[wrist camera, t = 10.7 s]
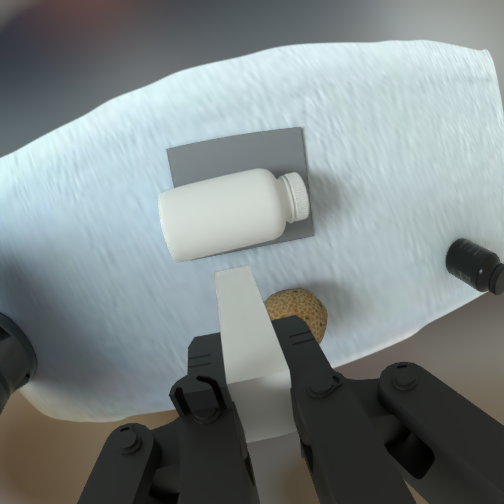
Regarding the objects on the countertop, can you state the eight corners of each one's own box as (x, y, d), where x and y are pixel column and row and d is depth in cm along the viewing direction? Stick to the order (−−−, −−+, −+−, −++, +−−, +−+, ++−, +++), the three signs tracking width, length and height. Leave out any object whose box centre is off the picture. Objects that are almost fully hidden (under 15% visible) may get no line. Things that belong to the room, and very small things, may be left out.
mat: (190, 259, 38) (190, 260, 37) (166, 149, 33) (166, 149, 32) (312, 235, 39) (313, 235, 39) (299, 127, 34) (300, 127, 34)
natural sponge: (319, 273, 41) (349, 309, 32) (308, 327, 44) (331, 370, 35) (254, 272, 40) (269, 311, 30) (248, 329, 43) (260, 375, 33)
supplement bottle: (466, 267, 46) (509, 294, 35) (442, 277, 46) (486, 308, 34) (469, 233, 44) (516, 256, 32) (445, 241, 43) (494, 267, 32)
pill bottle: (153, 177, 29) (295, 146, 30) (170, 211, 37) (286, 184, 38) (162, 249, 26) (321, 212, 28) (181, 272, 34) (306, 241, 35)
